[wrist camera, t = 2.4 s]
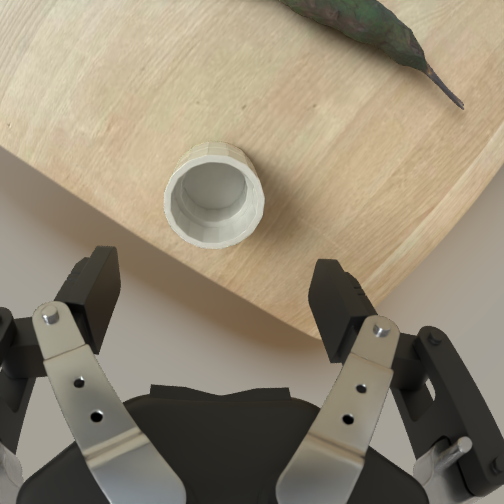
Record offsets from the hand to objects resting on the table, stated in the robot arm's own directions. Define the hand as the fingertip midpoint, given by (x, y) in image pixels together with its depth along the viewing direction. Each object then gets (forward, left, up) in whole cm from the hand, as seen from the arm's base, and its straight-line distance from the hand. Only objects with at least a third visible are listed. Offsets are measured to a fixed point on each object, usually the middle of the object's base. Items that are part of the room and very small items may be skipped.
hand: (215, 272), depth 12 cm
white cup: (0, 0, -13) cm, 13 cm away
